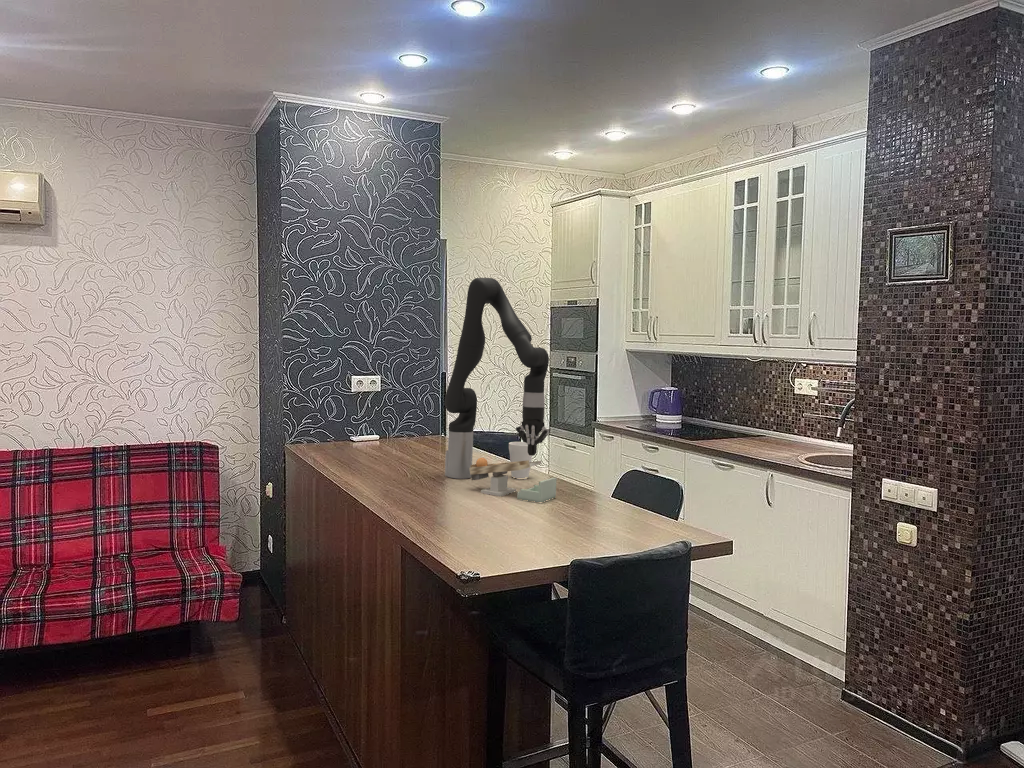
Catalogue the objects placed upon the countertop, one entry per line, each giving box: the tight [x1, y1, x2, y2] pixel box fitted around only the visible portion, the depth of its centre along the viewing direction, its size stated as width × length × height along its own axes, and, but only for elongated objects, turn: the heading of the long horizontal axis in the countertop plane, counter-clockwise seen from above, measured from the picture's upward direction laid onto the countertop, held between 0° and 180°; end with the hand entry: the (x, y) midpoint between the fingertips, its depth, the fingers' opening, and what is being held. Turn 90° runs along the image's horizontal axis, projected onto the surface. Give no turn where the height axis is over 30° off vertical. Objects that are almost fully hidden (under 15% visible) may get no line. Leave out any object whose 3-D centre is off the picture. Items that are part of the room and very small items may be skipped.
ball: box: [475, 457, 489, 467], centre depth 273 cm, size 4×4×4 cm
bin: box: [516, 477, 557, 503], centre depth 262 cm, size 9×10×7 cm
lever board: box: [469, 460, 542, 481], centre depth 273 cm, size 20×15×5 cm
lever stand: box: [480, 474, 517, 497], centre depth 270 cm, size 8×10×6 cm
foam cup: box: [508, 441, 533, 478], centre depth 296 cm, size 10×9×13 cm
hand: (532, 455), depth 272 cm, fingers closed
